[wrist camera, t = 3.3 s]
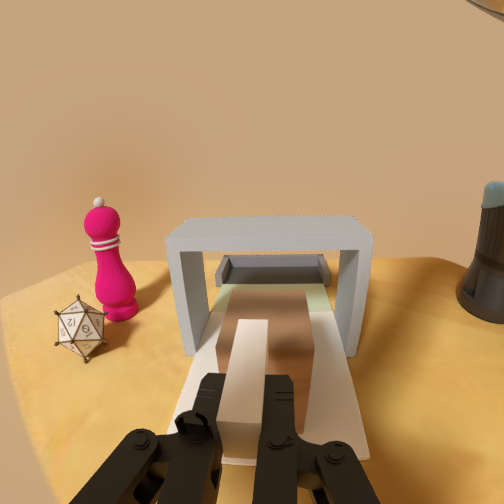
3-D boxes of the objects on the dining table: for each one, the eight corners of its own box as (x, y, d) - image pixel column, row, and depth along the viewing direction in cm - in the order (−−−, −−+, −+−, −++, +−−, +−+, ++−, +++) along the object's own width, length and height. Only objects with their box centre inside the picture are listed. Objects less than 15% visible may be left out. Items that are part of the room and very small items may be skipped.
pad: (334, 321, 42) (334, 318, 42) (209, 321, 43) (209, 318, 43) (323, 285, 53) (323, 283, 53) (222, 286, 55) (222, 284, 55)
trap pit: (329, 285, 53) (330, 273, 52) (216, 286, 55) (215, 274, 54) (322, 264, 62) (322, 254, 62) (225, 265, 64) (224, 255, 63)
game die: (95, 362, 38) (87, 301, 41) (127, 361, 35) (118, 290, 38) (47, 365, 30) (41, 295, 33) (74, 365, 27) (66, 283, 30)
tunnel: (383, 456, 19) (447, 315, 14) (147, 451, 21) (84, 313, 16) (341, 314, 44) (350, 213, 38) (202, 314, 45) (191, 215, 40)
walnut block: (303, 433, 23) (314, 348, 19) (228, 432, 23) (215, 347, 20) (299, 372, 31) (304, 289, 28) (239, 371, 32) (232, 289, 28)
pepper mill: (139, 299, 50) (120, 190, 44) (142, 318, 44) (119, 195, 37) (103, 306, 48) (80, 198, 41) (101, 326, 41) (72, 204, 35)
